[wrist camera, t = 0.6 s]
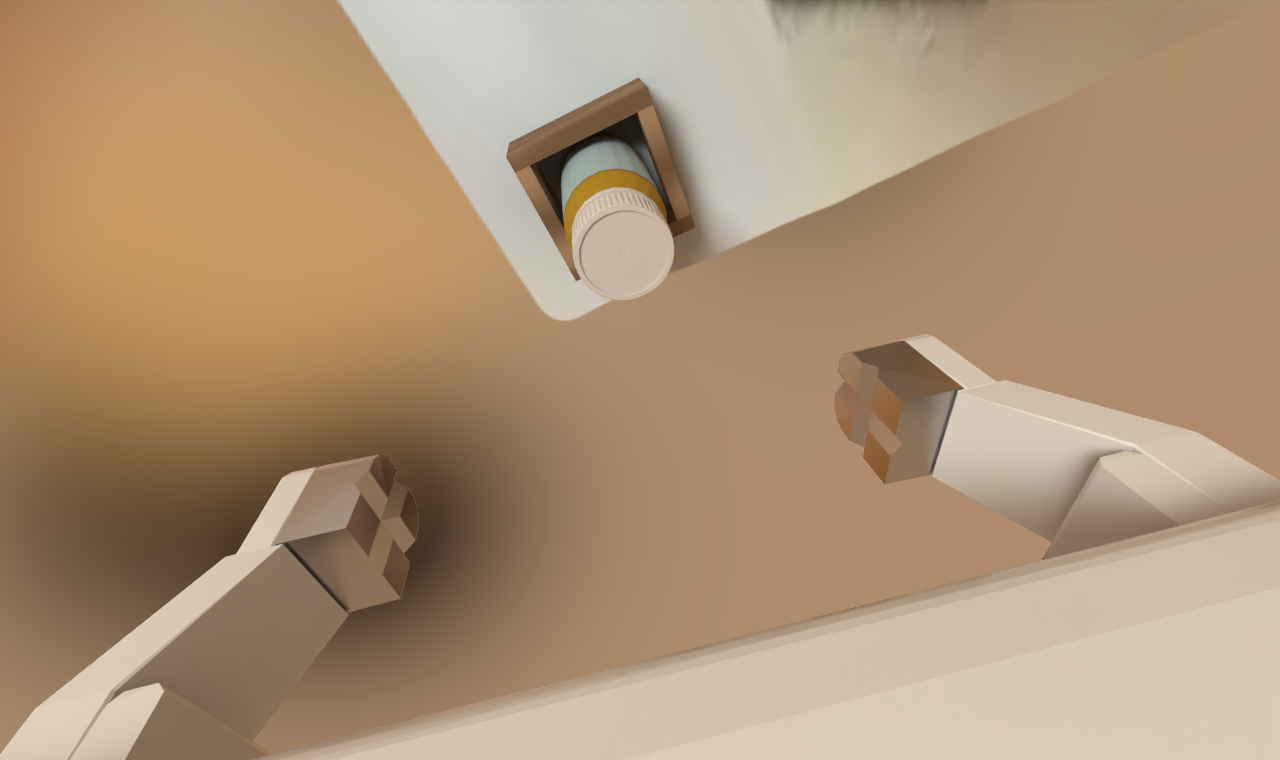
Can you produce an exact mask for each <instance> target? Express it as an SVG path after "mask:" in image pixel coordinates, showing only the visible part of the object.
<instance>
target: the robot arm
mask: <svg viewBox="0 0 1280 760" xmlns="http://www.w3.org/2000/svg"><path fill="white" fill-rule="evenodd" d="M838 373H839V374H840V376H841V377H842V378H843V379H844V380H845V381H844V383H843V384H842V385H841V386H840V388H839V389H838V390H837V392H836V396H835V410H836V415H837V420H838V422H839V424H840V426H841V429H842V431H843V432H844V433H845V435H846V436H847V437H848V438H849V440H850V441H852V442H855V443H857V444H859V445H861V446H864V447H865V449H864V456H863V458H864V459H865V460H866V461H867V463H868V464H869V465H870V466H871V468H872V469H873V470H874V471H875V472H876V474H877V475H878V476H879V478H880V479H881V480H882V481H883V482H884V484H887V483H891V482H897V481H902V480H906V479H911V478H915V477H921V476H925V475H930V474H932V477H934V478H936V479H937V480H939V481H941V482H943V483H945V484H947V485H948V486H950V487H952V488H954V489H956V490H957V491H959V492H961V493H963V494H965V495H967V496H968V497H970V498H972V499H974V500H976V501H978V502H980V503H981V504H983V505H985V506H987V507H989V508H991V509H992V510H994V511H996V512H998V513H1000V514H1002V515H1003V516H1005V517H1007V518H1009V519H1011V520H1013V521H1014V522H1016V523H1018V524H1020V525H1022V526H1024V527H1025V528H1027V529H1029V530H1031V531H1033V532H1035V533H1036V534H1038V535H1040V536H1042V537H1044V538H1046V539H1047V540H1050V541H1051V542H1052V543H1051V544H1050V546H1049V548H1048V550H1047V552H1046V553H1045V555H1044V557H1043V558H1042V560H1041V561H1037V562H1033V563H1029V564H1025V565H1021V566H1017V567H1013V568H1009V569H1005V570H1001V571H997V572H993V573H990V574H985V575H982V576H977V577H973V578H969V579H966V580H961V581H957V582H953V583H949V584H945V585H941V586H938V587H934V588H930V589H926V590H922V591H918V592H914V593H910V594H906V595H902V596H898V597H894V598H890V599H886V600H882V601H878V602H874V603H870V604H866V605H862V606H858V607H854V608H850V609H846V610H842V611H838V612H834V613H830V614H827V615H823V616H818V617H814V618H810V619H806V620H803V621H799V622H795V623H791V624H787V625H783V626H779V627H775V628H771V629H767V630H763V631H759V632H755V633H751V634H747V635H743V636H739V637H735V638H731V639H728V640H723V641H720V642H715V643H711V644H707V645H703V646H699V647H695V648H691V649H687V650H683V651H680V652H675V653H672V654H668V655H664V656H660V657H656V658H652V659H648V660H644V661H640V662H636V663H632V664H628V665H624V666H620V667H616V668H612V669H608V670H605V671H600V672H596V673H593V674H589V675H585V676H580V677H577V678H573V679H569V680H565V681H561V682H557V683H553V684H549V685H545V686H541V687H537V688H533V689H529V690H525V691H521V692H517V693H513V694H509V695H505V696H501V697H497V698H493V699H489V700H485V701H481V702H477V703H473V704H469V705H466V706H461V707H457V708H453V709H449V710H445V711H442V712H437V713H434V714H429V715H425V716H422V717H418V718H414V719H410V720H406V721H402V722H398V723H394V724H390V725H386V726H382V727H378V728H374V729H370V730H366V731H362V732H358V733H354V734H350V735H346V736H342V737H338V738H334V739H330V740H326V741H322V742H319V743H314V744H310V745H306V746H303V747H298V748H295V749H290V750H286V751H282V752H278V753H274V754H273V753H271V752H270V751H268V750H267V749H265V748H264V747H262V746H260V745H259V744H257V743H255V742H254V741H253V739H254V738H255V737H256V736H257V734H258V733H259V732H260V730H261V729H262V728H263V726H264V725H265V724H266V722H267V721H268V720H269V718H270V717H271V716H272V715H273V713H274V712H275V711H276V709H277V708H278V707H279V705H280V704H281V703H282V701H283V700H284V699H285V698H286V696H287V695H288V694H289V692H290V691H291V690H292V688H293V687H294V686H295V684H296V683H297V682H298V681H299V679H300V678H301V677H302V675H303V674H304V672H305V671H306V670H307V669H308V667H309V666H310V665H311V664H312V662H313V661H314V660H315V658H316V657H317V656H318V654H319V653H320V652H321V650H322V649H323V647H325V645H326V644H327V643H328V641H329V640H330V639H331V637H332V636H333V635H334V633H335V632H336V631H337V630H338V628H339V627H340V626H341V624H342V623H343V622H344V620H345V619H346V618H347V616H348V613H347V612H351V611H355V610H359V609H363V608H366V607H370V606H374V605H378V604H382V603H385V602H389V601H393V600H397V599H400V598H401V595H402V592H403V587H404V584H405V580H406V576H407V572H408V568H409V564H410V562H409V561H408V559H407V558H406V557H405V555H404V553H405V551H406V550H407V549H408V548H409V547H410V546H411V545H412V544H413V542H414V541H415V540H416V536H417V531H418V527H419V524H418V509H417V506H416V503H415V500H414V497H413V495H412V494H411V492H410V490H409V489H408V488H407V487H405V486H403V485H401V484H399V483H397V482H395V481H394V479H395V475H396V473H397V469H396V468H395V466H394V465H393V463H392V462H391V460H390V459H389V457H387V456H384V455H375V456H370V457H365V458H360V459H354V460H349V461H344V462H339V463H334V464H329V465H325V466H321V467H315V468H311V469H306V470H301V471H296V472H292V473H290V474H288V475H286V476H285V477H283V478H282V479H281V481H280V483H279V484H278V486H277V488H276V489H275V491H274V493H273V494H272V496H271V498H270V499H269V501H268V503H267V504H266V506H265V508H264V509H263V511H262V513H261V514H260V516H259V517H258V519H257V521H256V523H255V524H254V526H253V527H252V529H251V531H250V533H249V534H248V536H247V537H246V539H245V541H244V542H243V544H242V546H241V547H240V549H239V551H238V552H237V554H236V555H232V556H227V557H225V558H224V559H222V560H221V561H220V562H219V563H217V564H216V565H215V566H214V567H212V568H211V569H210V570H209V571H207V572H206V573H205V574H204V575H202V576H201V577H200V578H199V579H197V580H196V581H195V582H194V583H192V584H191V585H190V586H189V587H187V588H186V589H185V590H184V591H182V592H181V593H180V594H179V595H177V596H176V597H175V598H174V599H172V600H171V601H170V602H168V603H167V604H166V605H165V606H163V608H161V609H160V610H158V611H157V612H156V613H155V614H153V615H152V616H151V617H150V618H148V619H147V620H146V621H145V622H143V623H142V624H141V625H140V626H139V627H137V628H136V629H135V630H134V631H132V632H131V633H130V634H128V635H127V636H126V637H125V638H123V639H122V640H121V641H120V642H118V643H117V644H116V645H115V646H114V647H112V648H111V649H110V650H108V651H107V652H106V653H105V654H103V655H102V656H101V657H100V658H98V659H97V660H96V661H95V662H94V663H92V664H91V665H90V666H88V667H87V668H86V669H85V670H83V671H82V672H81V673H80V674H78V675H77V676H76V677H75V678H73V679H72V680H71V681H70V682H68V683H67V684H66V685H65V686H63V687H62V688H61V689H60V690H58V691H57V692H56V693H55V694H53V695H52V696H51V697H50V698H48V699H47V700H46V701H45V702H43V703H42V704H41V705H40V706H38V707H37V708H36V709H35V710H34V711H33V712H32V714H31V715H30V716H29V717H28V719H27V720H26V722H25V723H24V724H23V725H22V727H21V728H20V729H19V731H18V732H17V733H16V735H15V736H14V737H13V738H12V740H11V741H10V742H9V744H8V745H7V746H6V748H5V749H4V750H3V752H2V753H1V754H0V760H1280V481H1279V480H1277V479H1276V478H1274V477H1272V476H1271V475H1269V474H1267V473H1266V472H1264V471H1262V470H1261V469H1259V468H1257V467H1255V466H1254V465H1252V464H1250V463H1249V462H1247V461H1245V460H1243V459H1242V458H1240V457H1238V456H1237V455H1235V454H1233V453H1232V452H1230V451H1228V450H1226V449H1225V448H1223V447H1221V446H1220V445H1218V444H1216V443H1215V442H1213V441H1211V440H1209V439H1208V438H1206V437H1204V436H1202V435H1201V434H1199V433H1197V432H1194V431H1190V430H1187V429H1183V428H1179V427H1176V426H1172V425H1168V424H1165V423H1161V422H1158V421H1154V420H1150V419H1146V418H1143V417H1139V416H1136V415H1132V414H1128V413H1125V412H1121V411H1117V410H1114V409H1110V408H1106V407H1102V406H1098V405H1095V404H1092V403H1088V402H1084V401H1081V400H1077V399H1073V398H1070V397H1066V396H1062V395H1059V394H1055V393H1051V392H1048V391H1044V390H1040V389H1037V388H1033V387H1029V386H1025V385H1022V384H1018V383H1014V382H1011V381H1007V380H1004V381H999V382H996V381H995V380H993V379H992V378H990V377H989V376H988V375H986V374H985V373H984V372H982V371H981V370H980V369H978V368H977V367H975V366H974V365H973V364H971V363H970V362H969V361H967V360H966V359H964V358H963V357H962V356H960V355H959V354H957V353H956V352H955V351H953V350H952V349H951V348H949V347H948V346H946V345H945V344H944V343H942V342H941V341H939V340H938V339H937V338H935V337H934V336H931V335H927V334H922V335H918V336H914V337H910V338H906V339H902V340H898V341H897V342H893V343H889V344H885V345H880V346H876V347H871V348H867V349H862V350H858V351H853V352H848V353H845V354H843V356H842V358H841V360H840V363H839V370H838Z"/></svg>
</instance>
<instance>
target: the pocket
mask: <svg viewBox="0 0 1280 760" xmlns="http://www.w3.org/2000/svg"><path fill="white" fill-rule="evenodd" d="M633 114H635V116H636V119H637V122H638V124H639V127H640V130H641V132H642V135H643V138H644V140H645V143H646V146H647V148H648V151H649V154H650V157H651V159H652V162H653V165H654V167H655V170H656V173H657V175H658V178H659V181H660V183H661V186H662V189H663V191H664V194H665V197H666V200H667V202H668V204H666V205H665V208H666V212H667V224H668V226H669V228H670V230H671V233H672V237H675V236H677V235H679V234H682V233H684V232H686V231H688V230H690V229H693V228H695V225H694V222H693V219H692V216H691V213H690V210H689V207H688V204H687V202H686V199H685V196H684V193H683V190H682V187H681V184H680V181H679V178H678V175H677V173H676V170H675V167H674V164H673V161H672V158H671V155H670V152H669V149H668V146H667V143H666V141H665V138H664V135H663V132H662V129H661V126H660V123H659V120H658V117H657V114H656V112H655V109H654V106H653V103H652V100H651V97H650V94H649V91H648V88H647V86H646V85H645V84H644V83H643V82H642V81H641V80H640V79H639V78H637V79H635V80H633V81H631V82H629V83H627V84H625V85H623V86H621V87H619V88H617V89H615V90H613V91H611V92H609V93H607V94H605V95H603V96H601V97H600V98H598V99H596V100H594V101H592V102H590V103H588V104H586V105H584V106H582V107H580V108H578V109H576V110H574V111H572V112H570V113H568V114H566V115H564V116H562V117H560V118H558V119H556V120H554V121H552V122H550V123H548V124H546V125H544V126H542V127H540V128H538V129H536V130H534V131H532V132H530V133H528V134H526V135H524V136H522V137H520V138H518V139H516V140H514V141H512V142H510V143H509V147H508V152H507V156H506V157H507V159H508V161H509V163H510V164H511V166H512V168H513V170H514V172H515V173H516V175H517V177H518V179H519V180H520V182H521V184H522V186H523V188H524V189H525V191H526V193H527V195H528V196H529V198H530V200H531V202H532V204H533V205H534V207H535V209H536V211H537V212H538V214H539V216H540V218H541V219H542V221H543V223H544V225H545V227H546V228H547V230H548V232H549V234H550V235H551V237H552V239H553V241H554V243H555V244H556V246H557V248H558V250H559V251H560V253H561V255H562V257H563V259H564V260H565V262H566V264H567V266H568V267H569V269H570V271H571V273H572V274H573V276H574V278H575V280H576V281H577V280H580V279H581V278H580V276H579V274H578V273H577V269H576V268H575V264H574V259H573V251H572V249H571V248H570V246H569V244H568V242H567V239H566V234H565V229H564V222H563V211H562V209H561V207H560V205H559V203H558V201H557V199H556V197H555V196H554V194H553V192H552V190H551V188H550V186H549V184H548V182H547V180H546V178H545V177H544V175H543V173H542V171H541V169H540V167H539V165H538V163H537V162H538V161H540V160H542V159H544V158H546V157H548V156H550V155H552V154H554V153H556V152H558V151H560V150H562V149H564V148H566V147H568V146H570V145H572V144H574V143H576V142H578V141H581V140H583V139H585V138H587V137H589V136H591V135H593V134H595V133H597V132H599V131H601V130H603V129H605V128H607V127H609V126H611V125H613V124H615V123H617V122H619V121H621V120H623V119H625V118H627V117H629V116H631V115H633Z"/></svg>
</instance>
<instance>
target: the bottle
mask: <svg viewBox="0 0 1280 760" xmlns="http://www.w3.org/2000/svg"><path fill="white" fill-rule="evenodd" d="M561 192H562V207H563V222H564V229H565V234H566V239H567V242H568V244H569V246H570V248H571V249H572V251H573V259H574V264H575V268H576V269H577V273H578V274H579V276H580V278H581V279H582V280H583V282H584V283H585V284H586V285H587V286H588V287H589V288H590V289H591V290H593V291H594V292H596V293H597V294H599V295H601V296H604V297H606V298H610V299H616V300H628V299H634V298H637V297H640V296H643V295H645V294H647V293H649V292H650V291H652V290H654V289H655V288H656V287H657V286H658V285H659V284H660V283H661V282H662V281H663V280H664V279H665V277H666V276H667V274H668V272H669V270H670V268H671V266H672V262H673V258H674V251H675V250H674V243H673V241H674V239H673V237H672V233H671V230H670V228H669V226H668V224H667V212H666V208H665V205H664V203H663V200H662V198H661V195H660V193H659V191H658V190H657V188H656V186H655V184H654V182H653V180H652V178H651V176H650V174H649V173H648V171H647V169H646V167H645V165H644V163H643V161H642V159H641V158H640V156H639V155H638V153H637V152H636V151H635V150H634V149H633V147H632V146H631V145H629V144H628V143H627V142H625V141H623V140H622V139H620V138H617V137H614V136H609V135H598V136H592V137H589V138H587V139H585V140H583V141H581V142H579V143H578V144H577V145H576V146H575V147H574V148H573V149H572V150H571V151H570V152H569V154H568V155H567V157H566V160H565V162H564V164H563V167H562V175H561Z"/></svg>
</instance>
